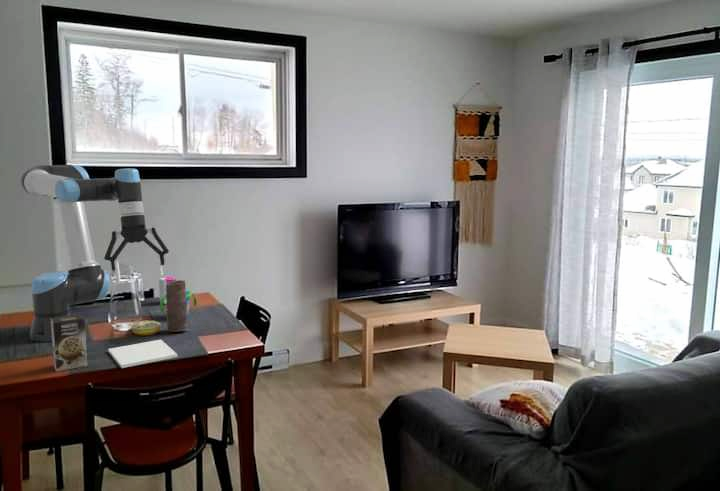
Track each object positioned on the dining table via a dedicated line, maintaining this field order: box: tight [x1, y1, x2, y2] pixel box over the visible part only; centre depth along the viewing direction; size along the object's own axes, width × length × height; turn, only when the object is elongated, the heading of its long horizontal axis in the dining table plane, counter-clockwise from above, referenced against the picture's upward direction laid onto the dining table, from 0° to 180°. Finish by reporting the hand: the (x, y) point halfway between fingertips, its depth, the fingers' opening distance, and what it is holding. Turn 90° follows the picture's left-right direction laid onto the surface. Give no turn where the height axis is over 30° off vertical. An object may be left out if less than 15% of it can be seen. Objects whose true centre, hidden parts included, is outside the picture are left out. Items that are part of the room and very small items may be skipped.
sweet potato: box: [166, 279, 188, 333], centre depth 216 cm, size 8×7×20 cm
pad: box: [107, 339, 178, 369], centre depth 192 cm, size 18×18×1 cm
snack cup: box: [159, 290, 198, 317], centre depth 236 cm, size 16×10×10 cm
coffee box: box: [51, 313, 88, 372], centre depth 180 cm, size 9×6×16 cm
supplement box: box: [158, 276, 177, 306], centre depth 256 cm, size 6×6×12 cm
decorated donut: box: [131, 320, 162, 336], centre depth 216 cm, size 10×11×4 cm
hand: (140, 277), depth 189 cm, fingers open, 13 cm apart
